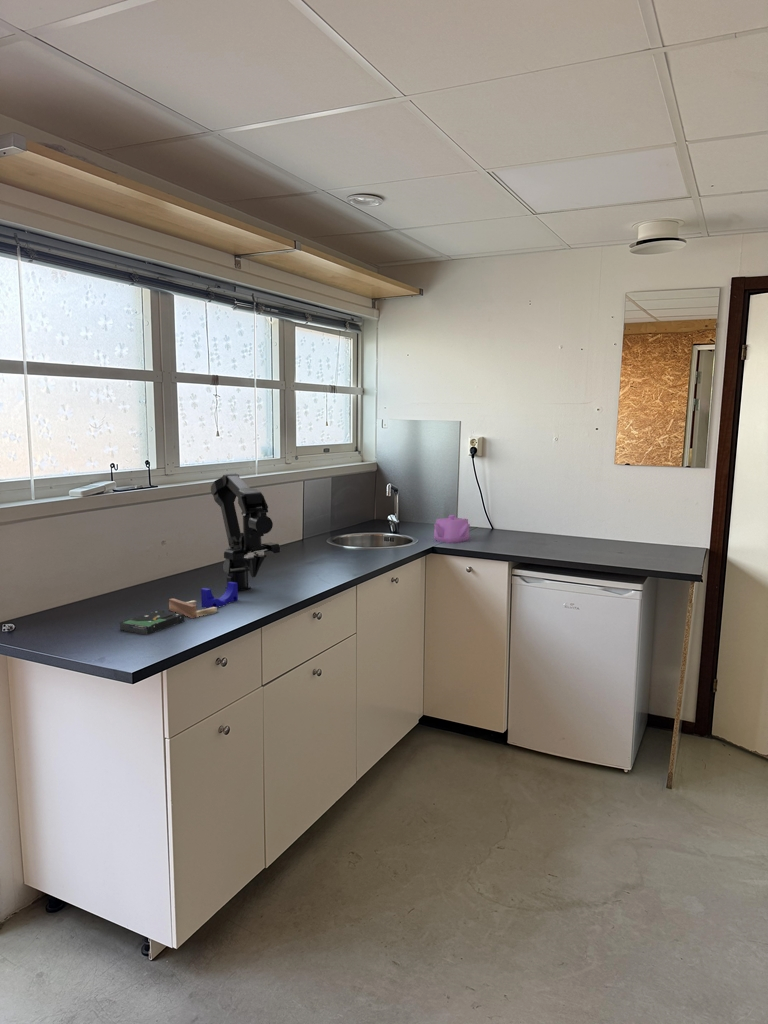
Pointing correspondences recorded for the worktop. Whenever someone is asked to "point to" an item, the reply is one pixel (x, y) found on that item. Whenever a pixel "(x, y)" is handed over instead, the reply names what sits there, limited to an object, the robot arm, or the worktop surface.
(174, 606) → the frame
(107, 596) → the worktop surface
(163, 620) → the disk drive
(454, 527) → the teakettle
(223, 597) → the blue cradle bracket
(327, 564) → the worktop surface
